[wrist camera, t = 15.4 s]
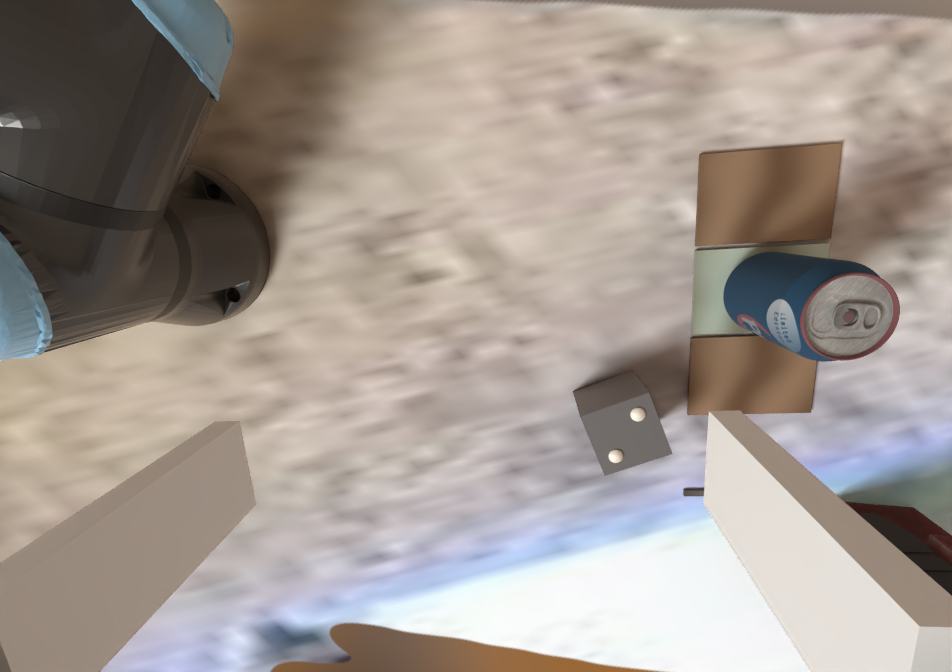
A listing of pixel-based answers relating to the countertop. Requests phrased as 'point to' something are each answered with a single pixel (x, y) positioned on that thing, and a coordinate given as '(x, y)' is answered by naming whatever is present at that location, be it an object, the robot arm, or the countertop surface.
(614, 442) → the die
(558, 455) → the countertop surface
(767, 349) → the game board
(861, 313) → the soda can
